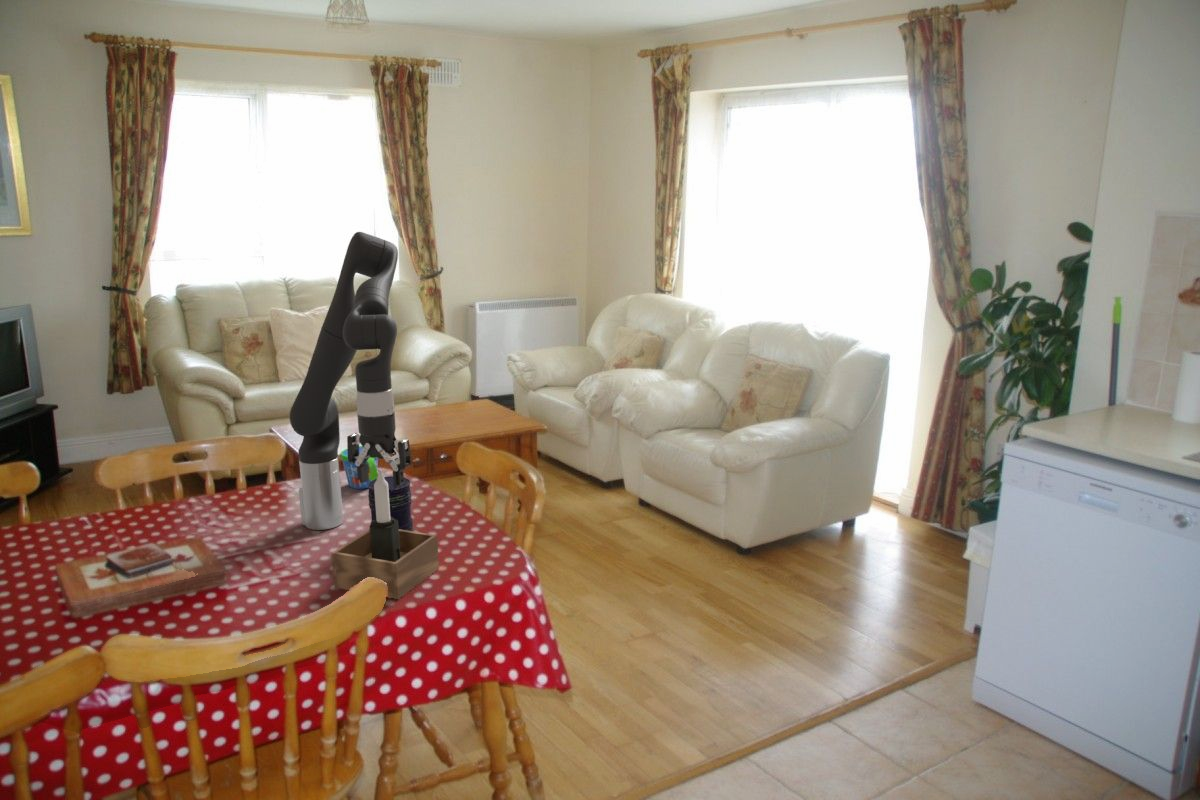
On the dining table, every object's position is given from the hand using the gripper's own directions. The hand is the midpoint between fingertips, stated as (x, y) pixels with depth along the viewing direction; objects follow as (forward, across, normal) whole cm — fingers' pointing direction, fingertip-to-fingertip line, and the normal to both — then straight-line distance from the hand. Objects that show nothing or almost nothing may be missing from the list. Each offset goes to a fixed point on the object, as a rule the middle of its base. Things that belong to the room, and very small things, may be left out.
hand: (381, 484), depth 190 cm
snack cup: (+22, -41, +48) cm, 67 cm away
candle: (+22, 0, 0) cm, 22 cm away
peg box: (+22, 0, 0) cm, 22 cm away
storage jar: (+22, -10, +17) cm, 29 cm away
